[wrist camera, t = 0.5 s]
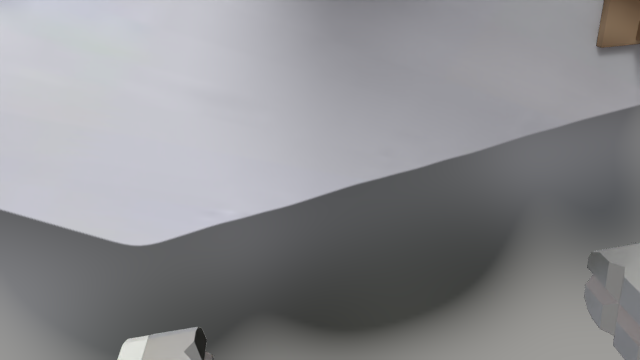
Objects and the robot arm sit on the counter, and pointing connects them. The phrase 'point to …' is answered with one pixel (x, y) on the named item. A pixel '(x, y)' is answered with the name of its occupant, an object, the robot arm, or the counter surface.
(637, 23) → the pipe stand
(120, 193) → the counter surface
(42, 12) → the counter surface
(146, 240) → the counter surface
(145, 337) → the robot arm
